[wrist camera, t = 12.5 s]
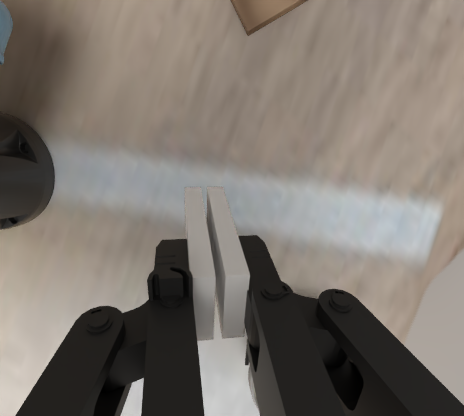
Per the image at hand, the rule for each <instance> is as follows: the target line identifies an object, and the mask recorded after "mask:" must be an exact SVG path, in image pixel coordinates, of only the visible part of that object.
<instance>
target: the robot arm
mask: <svg viewBox="0 0 464 416" xmlns="http://www.w3.org/2000/svg"><path fill="white" fill-rule="evenodd" d="M12 28H13V21H12V18H11V15H10V12H9V10H8V9H7V7H6V6H5V5H4V3H3V2H2V1H1V0H0V64H1V65H2V64H3V63H4V56H3V55H4V52H5V49H6V46H7V43H8V40H9V38H10V35H11V32H12ZM53 186H54V170H53V164H52V160H51V157H50V154H49V152H48V150H47V148H46V146H45V144H44V143H43V141H42V140H41V138H40V137H39V136H38V135H37V133H36V132H35V131H34V130H33V129H32V128H30V127H29V126H28V125H27V124H25V123H24V122H22V121H21V120H19V119H17V118H15V117H13V116H10V115H7V114H3V113H0V230H2V229H8V228H12V227H15V226H18V225H21V224H24V223H27V222H29V221H31V220H33V219H34V218H35V217H37V216H38V215H39V214H40V213H41V212H42V211H43V210H44V208H45V207H46V205H47V204H48V202H49V200H50V197H51V195H52V191H53ZM185 235H186V239H176V240H162V241H161V242H160V243H159V245H158V246H157V247H156V255H155V267H154V270H153V271H152V272H151V273H150V274H149V277H148V279H147V283H148V294H149V300H148V301H147V302H146V303H145V304H143V305H142V306H140V307H138V308H136V309H134V310H131V311H128V312H125V313H122V312H121V311H120V310H118V309H117V308H114V307H111V306H99V307H96V308H93V309H90V310H88V311H87V312H85V313H83V314H82V315H81V316H80V317H79V318H78V319H77V320H76V321H75V323H74V325H73V326H72V328H71V329H70V331H69V332H68V334H67V336H66V337H65V339H64V340H63V342H62V343H61V345H60V347H59V348H58V350H57V351H56V353H55V354H54V356H53V358H52V359H51V361H50V362H49V364H48V365H47V367H46V369H45V370H44V372H43V373H42V375H41V376H40V378H39V379H38V381H37V383H36V384H35V386H34V387H33V389H32V390H31V392H30V394H29V395H28V397H27V398H26V400H25V401H24V403H23V405H22V406H21V408H20V409H19V411H18V412H17V414H16V416H120V415H121V412H122V410H123V407H124V404H125V401H126V399H127V396H128V393H129V390H130V388H131V383H132V382H135V381H137V380H139V379H142V378H144V384H143V399H142V414H141V416H204V407H203V397H202V386H201V376H200V365H199V355H198V345H197V341H200V340H211V339H213V337H214V308H215V294H216V301H217V307H218V314H219V320H220V327H221V333H222V338H234V337H244V331H245V328H246V333H247V337H248V339H247V348H246V358H245V365H248V364H249V363H250V368H251V373H252V378H253V383H254V388H255V393H256V398H257V402H258V407H259V412H260V416H464V405H463V404H462V403H461V402H460V401H459V400H458V399H457V398H456V397H455V396H454V395H453V394H452V393H451V392H450V391H449V390H448V389H447V388H446V387H445V386H444V385H443V384H442V383H441V382H440V381H439V380H438V379H437V378H436V377H435V376H434V375H432V373H431V372H430V371H429V370H428V369H426V367H425V366H424V365H423V364H422V363H421V362H420V361H419V360H418V359H417V358H416V357H415V356H414V355H413V354H412V353H411V352H410V351H409V350H408V349H407V348H406V347H405V346H404V345H403V344H402V343H401V342H400V341H399V340H398V339H397V338H396V337H395V336H394V335H393V334H392V333H391V332H390V331H389V330H388V329H387V328H386V327H385V326H384V325H383V324H382V323H381V322H380V321H379V320H378V319H377V318H376V317H375V316H374V315H373V314H372V313H371V312H370V311H369V310H368V309H367V308H366V307H365V306H364V305H363V304H362V303H361V302H360V301H359V300H358V299H357V298H355V297H354V296H353V295H352V294H350V293H348V292H345V291H343V290H338V289H328V290H326V291H323V292H322V293H321V294H320V296H319V298H318V299H315V298H310V297H304V296H300V295H297V294H295V293H293V291H292V289H291V288H290V287H289V286H288V285H287V284H286V283H284V282H282V281H281V280H280V278H279V275H278V273H277V271H276V268H275V266H274V263H273V261H272V259H271V256H270V254H269V252H268V249H267V247H266V245H265V242H264V241H263V240H261V239H260V238H259V237H258V236H257V235H253V236H238V234H237V231H236V228H235V224H234V221H233V218H232V215H231V212H230V208H229V205H228V202H227V199H226V195H225V192H224V189H223V187H207V222H206V216H205V210H204V204H203V198H202V192H201V187H185Z"/></svg>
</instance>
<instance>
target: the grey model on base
mask: <svg viewBox="0 0 464 416" xmlns="http://www.w3.org/2000/svg"><path fill="white" fill-rule="evenodd" d="M306 1H308V0H231V2H232V4H233V6H234V8H235V10H236V12H237V14H238V16H239V18H240V20H241V22H242V24H243V26H244V28H245V30H246V33H247V35H248V36H249V35H250V34H252V33H254V32H255V31H257V30H259V29H260V28H262V27H264V26H265V25H267V24H269V23H271V22H272V21H274V20H276V19H277V18H279V17H281V16H282V15H284V14H286V13H287V12H289V11H291V10H292V9H294V8H296V7H297V6H299V5H301V4H302V3H304V2H306Z"/></svg>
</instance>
